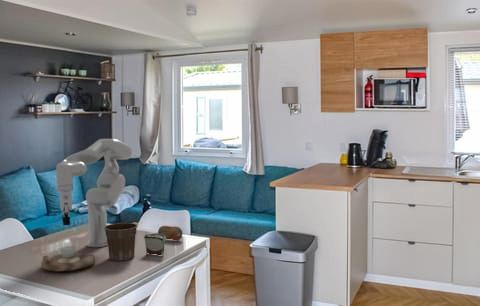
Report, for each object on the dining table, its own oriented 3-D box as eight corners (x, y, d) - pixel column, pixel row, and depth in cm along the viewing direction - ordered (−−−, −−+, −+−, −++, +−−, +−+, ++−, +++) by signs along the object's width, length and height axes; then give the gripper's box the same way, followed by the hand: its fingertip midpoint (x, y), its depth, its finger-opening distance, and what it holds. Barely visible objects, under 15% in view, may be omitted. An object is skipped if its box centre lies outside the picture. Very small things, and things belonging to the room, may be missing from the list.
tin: (157, 239, 265) (157, 225, 264) (160, 238, 268) (160, 224, 267) (180, 242, 259) (180, 227, 258) (183, 241, 262) (183, 226, 261)
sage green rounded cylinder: (75, 253, 228) (75, 245, 228) (76, 257, 222) (76, 249, 222) (60, 255, 226) (59, 247, 225) (60, 259, 219) (60, 251, 219)
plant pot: (103, 255, 235) (102, 224, 234) (134, 251, 242) (134, 221, 241) (107, 264, 221) (106, 231, 219) (141, 260, 227) (140, 227, 226)
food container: (171, 253, 238) (170, 234, 237) (164, 256, 232) (163, 237, 231) (151, 250, 243) (150, 232, 242) (144, 254, 237) (143, 234, 236)
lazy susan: (92, 253, 234) (92, 244, 234) (98, 266, 212) (97, 257, 212) (41, 259, 225) (41, 250, 224) (41, 274, 203) (41, 264, 202)
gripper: (74, 189, 223) (75, 226, 224) (71, 185, 239) (73, 219, 240) (57, 190, 220) (58, 228, 221) (56, 186, 236) (57, 220, 237)
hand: (66, 223), depth 231 cm, fingers open, 5 cm apart
